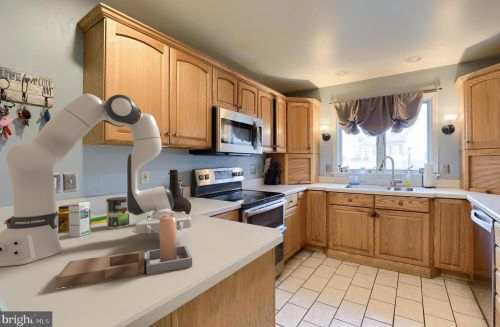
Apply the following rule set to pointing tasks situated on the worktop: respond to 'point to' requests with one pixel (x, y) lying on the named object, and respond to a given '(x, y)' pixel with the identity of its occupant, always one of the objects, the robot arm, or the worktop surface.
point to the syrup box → (79, 219)
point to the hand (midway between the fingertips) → (165, 229)
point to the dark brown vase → (178, 194)
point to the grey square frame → (168, 264)
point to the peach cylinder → (168, 239)
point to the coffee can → (117, 213)
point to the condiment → (63, 219)
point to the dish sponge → (98, 220)
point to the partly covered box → (101, 269)
